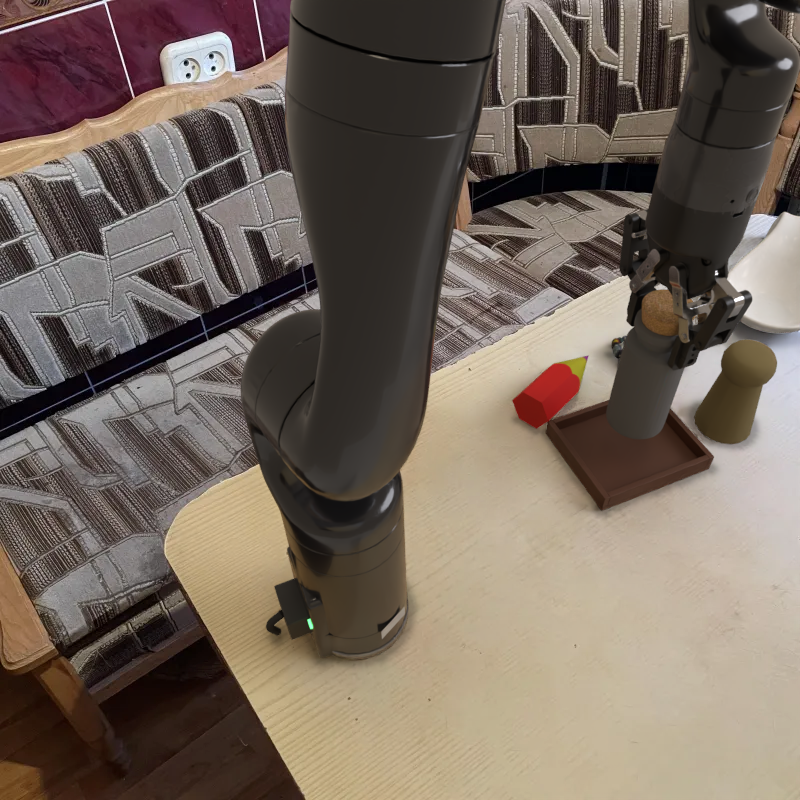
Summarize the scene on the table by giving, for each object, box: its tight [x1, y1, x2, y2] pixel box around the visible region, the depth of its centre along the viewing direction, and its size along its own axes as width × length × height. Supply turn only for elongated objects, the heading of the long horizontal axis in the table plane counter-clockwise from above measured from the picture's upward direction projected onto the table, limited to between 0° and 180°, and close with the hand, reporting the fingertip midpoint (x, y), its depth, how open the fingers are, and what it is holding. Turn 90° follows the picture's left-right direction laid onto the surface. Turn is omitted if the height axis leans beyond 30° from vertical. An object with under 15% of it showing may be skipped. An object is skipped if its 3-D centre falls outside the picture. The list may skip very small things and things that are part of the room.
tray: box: [544, 399, 715, 512], centre depth 80 cm, size 13×11×2 cm
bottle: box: [606, 288, 697, 439], centre depth 72 cm, size 6×6×15 cm
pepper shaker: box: [693, 339, 778, 445], centre depth 80 cm, size 6×6×11 cm
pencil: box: [511, 355, 589, 430], centre depth 85 cm, size 5×12×4 cm, turn 138°
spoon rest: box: [727, 211, 800, 334], centre depth 96 cm, size 24×12×7 cm, turn 155°
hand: (657, 343), depth 70 cm, fingers closed on bottle, 5 cm apart
